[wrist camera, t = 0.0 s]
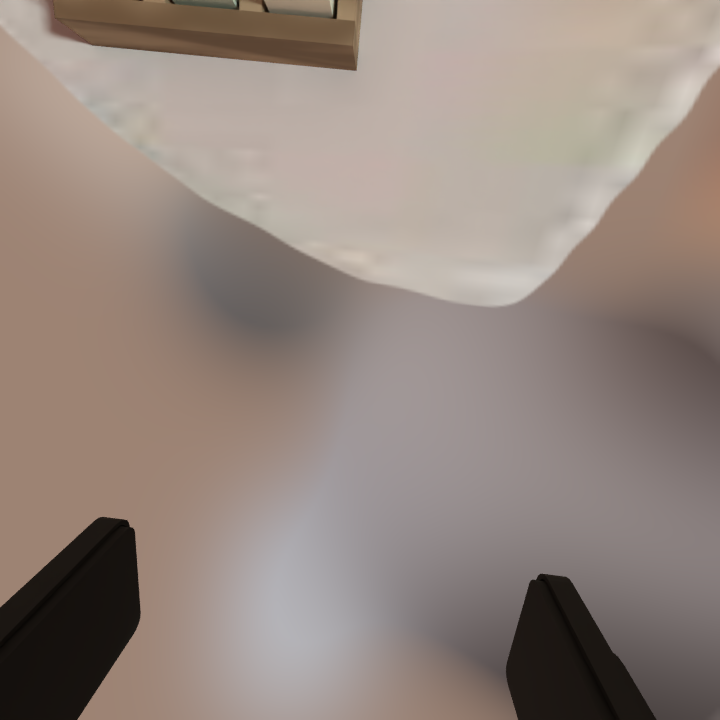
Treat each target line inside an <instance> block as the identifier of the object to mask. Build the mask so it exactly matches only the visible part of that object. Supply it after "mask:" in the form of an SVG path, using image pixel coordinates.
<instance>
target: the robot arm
mask: <svg viewBox="0 0 720 720" xmlns="http://www.w3.org/2000/svg"><path fill="white" fill-rule="evenodd" d="M135 542H136V541H135V531H134V529H133V528H131V527H130V526H129V522H128V521H127V520H123V519H115V518H107V517H100V518H98V519H96V520H95V521H94V522H93V523H92V524H91V525H90V526H88V527H87V528H86V529H85V530H84V531H83V532H82V533H81V534H80V535H79V536H78V537H76V538H75V539H74V540H73V541H72V542H71V543H70V544H69V545H68V546H67V547H66V548H65V549H63V550H62V551H61V552H60V553H59V554H58V555H57V556H56V557H55V558H54V559H53V560H51V561H50V562H49V563H48V564H47V565H46V566H45V567H44V568H43V569H42V570H41V571H40V572H38V573H37V574H36V575H35V576H34V577H33V578H32V579H31V580H30V581H29V582H28V583H26V585H24V586H23V587H22V588H21V589H20V590H19V591H18V592H17V593H16V594H15V595H13V596H12V597H11V598H10V599H9V600H8V601H7V602H6V603H5V604H4V605H3V606H2V607H0V720H77V719H78V718H79V716H80V715H81V713H82V712H83V710H84V708H85V707H86V706H87V704H88V702H89V701H90V699H91V698H92V696H93V695H94V693H95V692H96V690H97V689H98V687H99V686H100V684H101V683H102V681H103V680H104V678H105V677H106V675H107V674H108V672H109V671H110V669H111V667H112V666H113V664H114V663H115V661H116V660H117V658H118V657H119V655H120V654H121V652H122V651H123V649H124V648H125V646H126V645H127V643H128V642H129V640H130V639H131V637H132V636H133V634H134V632H135V631H136V628H137V626H138V624H139V620H140V599H139V584H138V570H137V556H136V543H135ZM506 676H507V682H508V686H509V690H510V693H511V697H512V700H513V703H514V707H515V710H516V713H517V717H518V720H656V718H655V717H654V715H653V713H652V712H651V710H650V708H649V706H648V705H647V703H646V701H645V700H644V698H643V696H642V695H641V693H640V691H639V690H638V688H637V686H636V685H635V683H634V681H633V679H632V678H631V676H630V674H629V673H628V671H627V669H626V668H625V666H624V665H623V663H622V662H621V660H620V659H619V658H618V657H617V656H616V655H615V654H614V653H613V652H612V651H611V649H610V647H609V645H608V644H607V642H606V640H605V639H604V637H603V635H602V633H601V632H600V630H599V628H598V626H597V625H596V623H595V621H594V620H593V618H592V616H591V614H590V613H589V611H588V609H587V607H586V606H585V604H584V603H583V601H582V599H581V597H580V595H579V594H578V592H577V590H576V589H575V587H574V585H573V583H572V582H571V581H570V579H568V578H567V577H562V576H555V575H548V574H540V575H538V577H537V579H536V580H531V581H530V583H529V587H528V590H527V594H526V597H525V601H524V605H523V608H522V611H521V615H520V618H519V622H518V625H517V629H516V633H515V636H514V640H513V643H512V647H511V650H510V654H509V657H508V661H507V666H506Z"/></svg>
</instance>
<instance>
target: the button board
mask: <svg viewBox="0 0 720 720" xmlns="http://www.w3.org/2000/svg"><path fill="white" fill-rule="evenodd" d="M362 1H363V0H338V9H337V19H330V18H319V17H309V16H298V15H287V14H276V13H270V12H269V10H268V8H267V6H266V4H265V1H264V0H240V3H239V10H233V9H222V8H211V7H201V6H190V5H179V4H175V3H174V2H173V0H143V1H136V0H53V5H54V15H55V18H56V19H57V20H59V21H60V22H61V23H63V24H64V25H66V26H67V27H68V28H70V29H71V30H72V31H74V32H75V33H76V34H78V35H79V36H81V37H82V38H83V39H85V40H86V41H87V42H89V43H90V44H92V45H96V46H106V47H117V48H127V49H137V50H148V51H158V52H169V53H179V54H189V55H200V56H210V57H221V58H231V59H241V60H252V61H262V62H273V63H283V64H293V65H304V66H314V67H325V68H335V69H345V70H357V58H358V47H359V35H360V24H361V12H362Z"/></svg>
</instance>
